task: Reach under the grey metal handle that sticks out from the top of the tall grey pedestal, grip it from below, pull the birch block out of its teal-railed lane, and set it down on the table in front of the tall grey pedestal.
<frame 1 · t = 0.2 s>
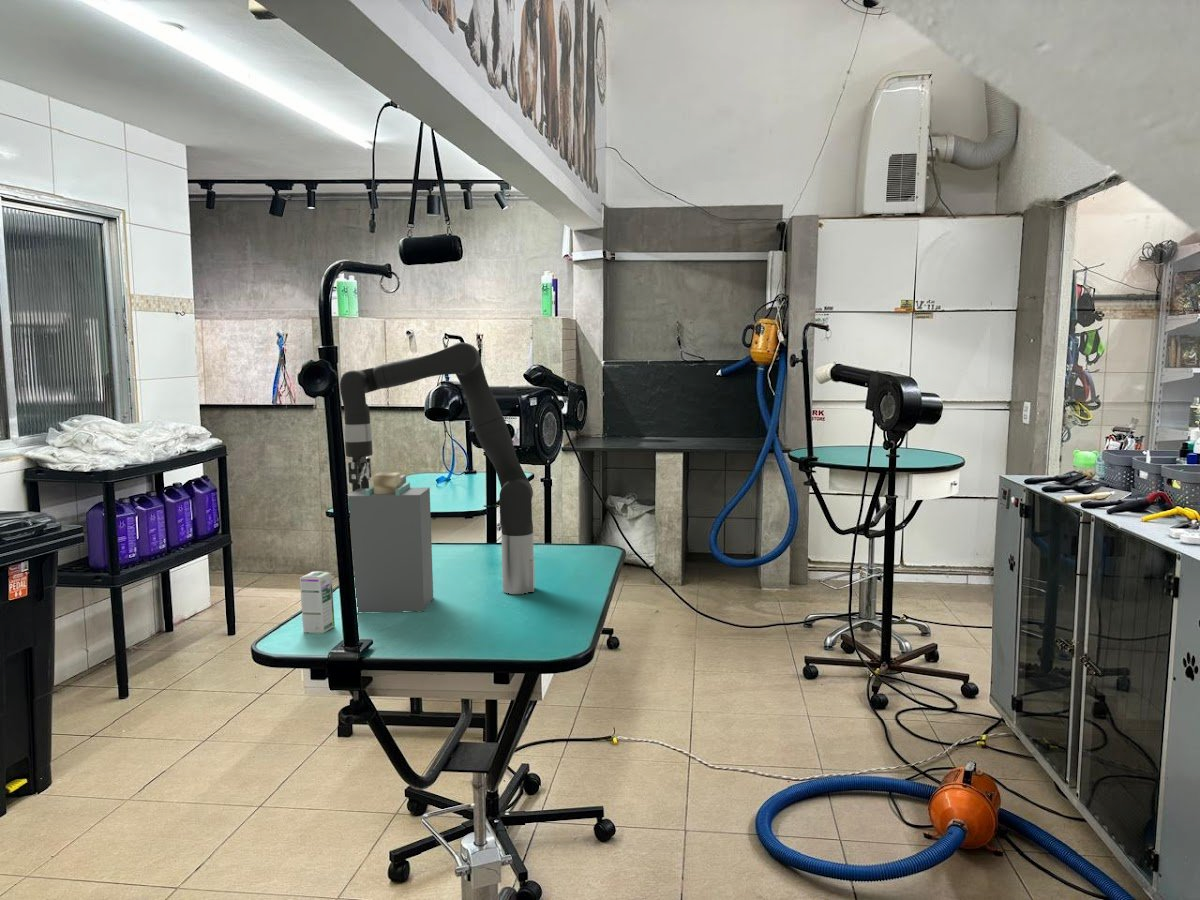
hand: (361, 495, 246), 29 cm above the table, tool pointing down, fingers open, 8 cm apart
syrup box: (318, 630, 215), on the table
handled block: (387, 492, 232), point 32 cm above the table, touching tall grey pedestal
tall grey pedestal: (392, 605, 236), on the table
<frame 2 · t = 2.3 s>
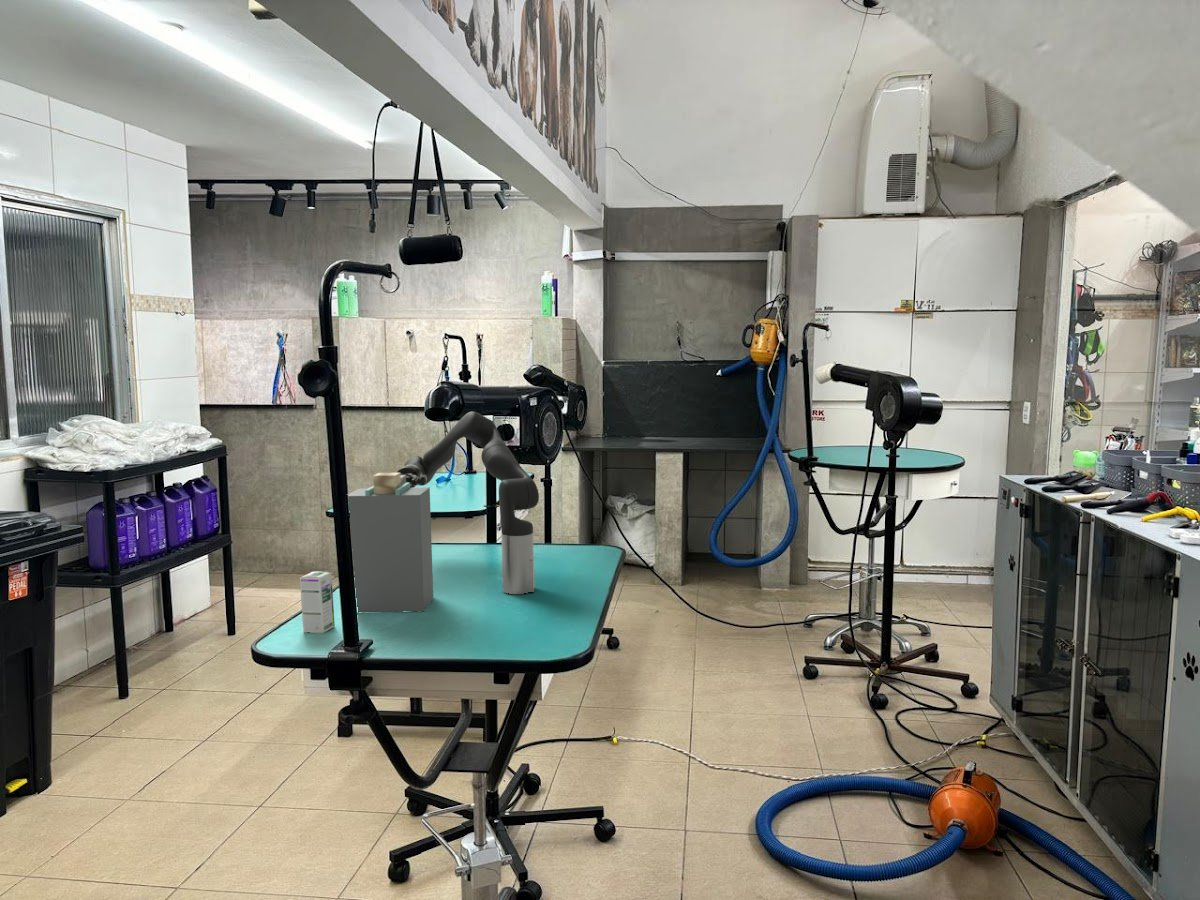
hand: (398, 483, 264), 30 cm above the table, tool horizontal, fingers open, 8 cm apart
nothing on the table moved.
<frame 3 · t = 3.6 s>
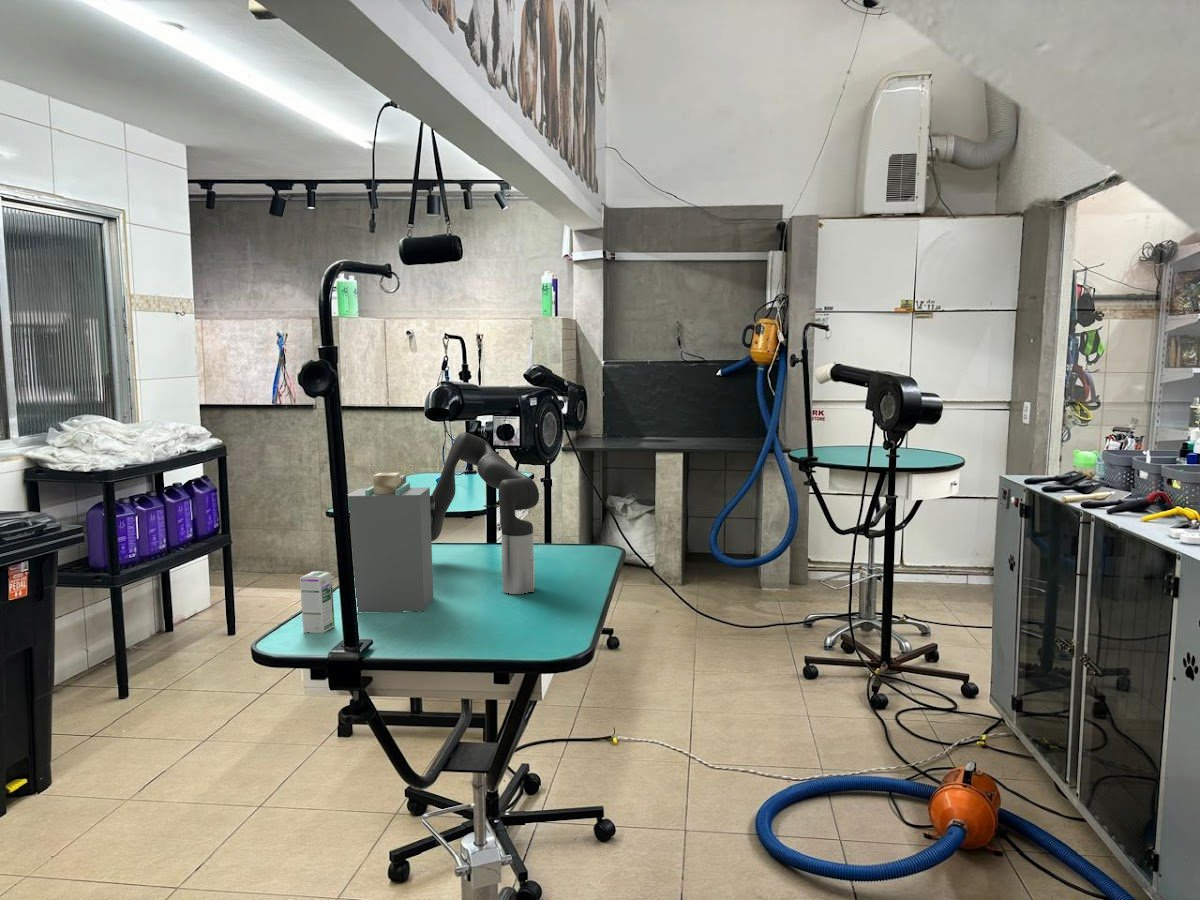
hand: (406, 495, 257), 27 cm above the table, tool pointing upward, fingers open, 8 cm apart
nothing on the table moved.
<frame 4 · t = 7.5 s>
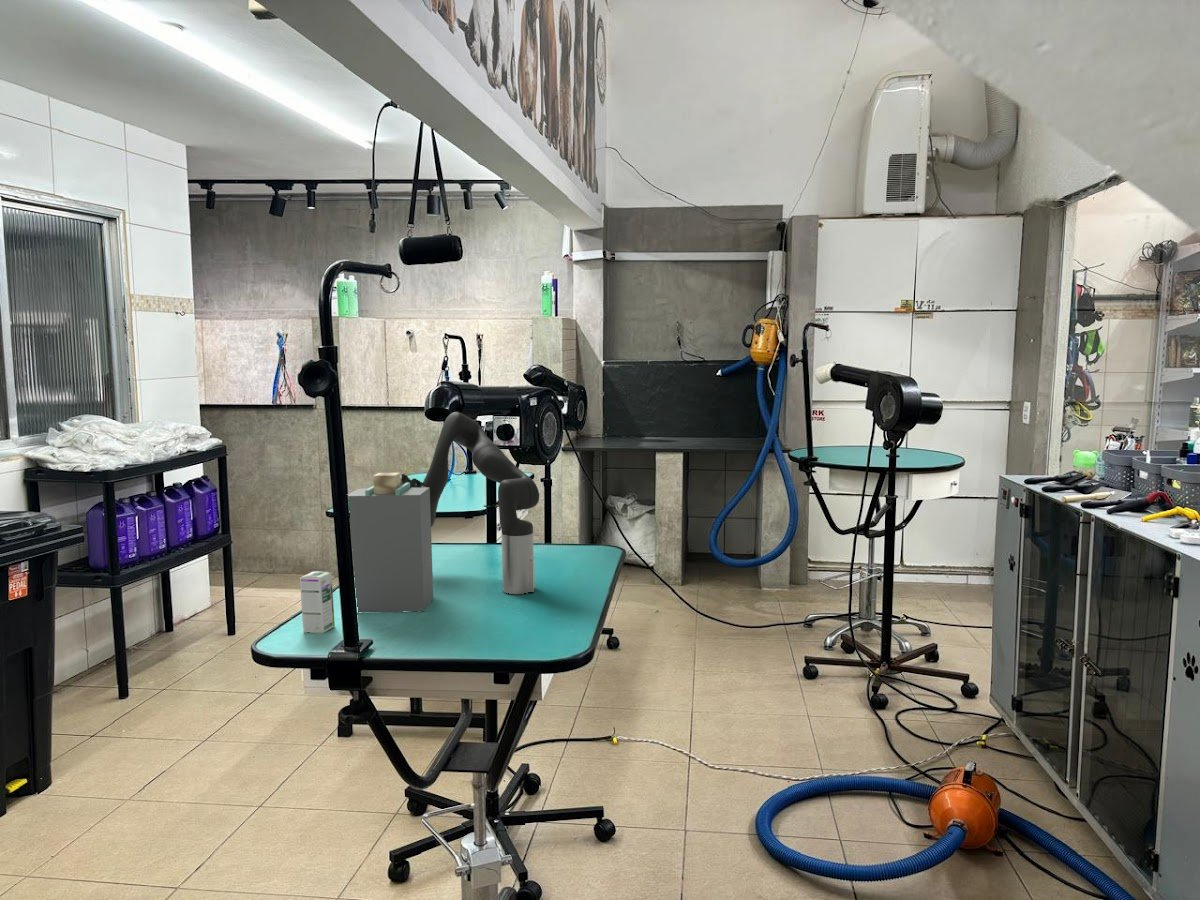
hand: (396, 476, 243), 35 cm above the table, tool pointing upward, fingers closed on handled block, 3 cm apart
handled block: (387, 492, 232), point 32 cm above the table, touching gripper, tall grey pedestal
everything else where it was.
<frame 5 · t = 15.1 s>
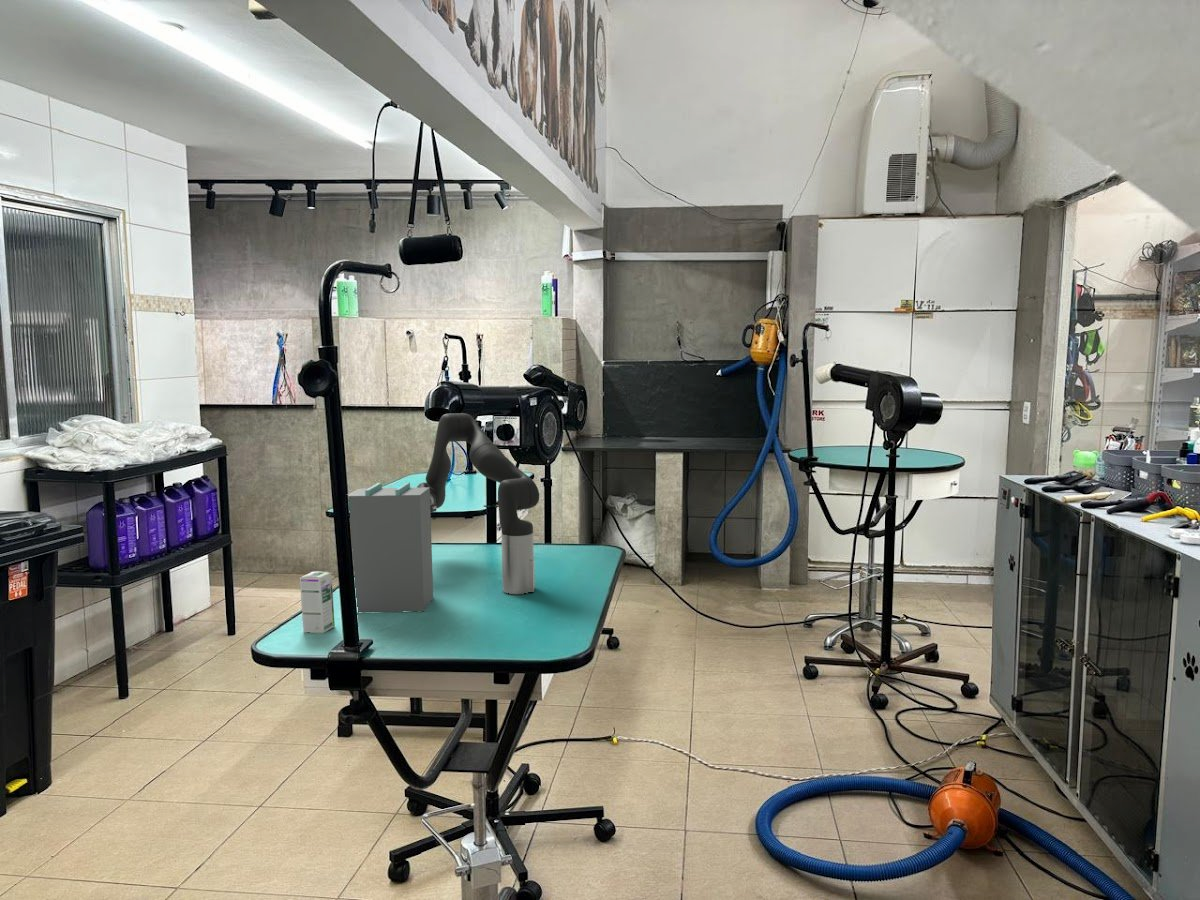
hand: (409, 512, 260), 22 cm above the table, tool horizontal, fingers closed on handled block, 3 cm apart
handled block: (404, 544, 252), point 13 cm above the table, tilted 30°, touching gripper
everything else where it was.
when the fingers open (11 cm above the table, at t = 17.1 s): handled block drops 3 cm, on the table.
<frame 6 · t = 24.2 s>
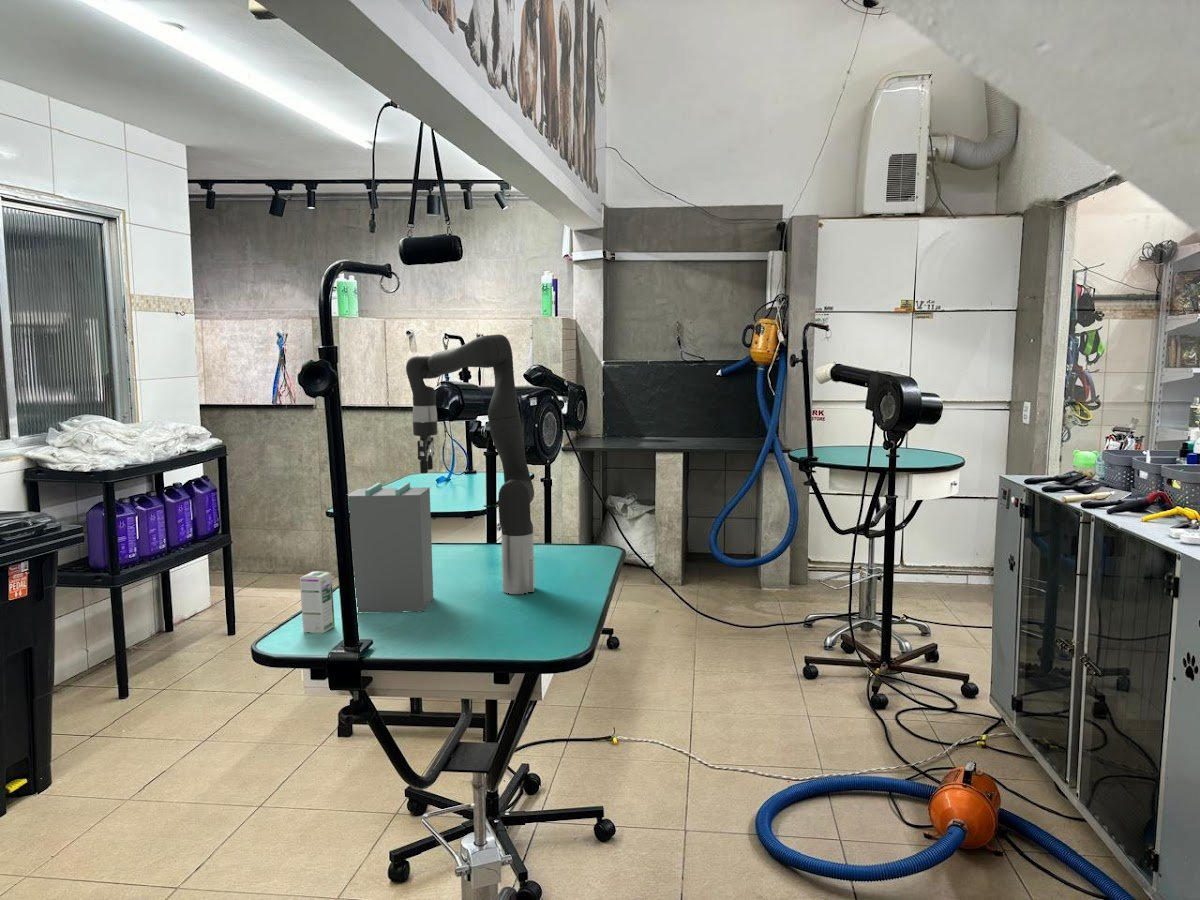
hand: (426, 471, 268), 33 cm above the table, tool pointing down, fingers open, 8 cm apart
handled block: (406, 587, 255), on the table
everything else where it was.
at the end: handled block inside the target area (0.7 cm from its centre), on the table; the gripper is holding nothing; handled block moved 37.7 cm from its start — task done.
